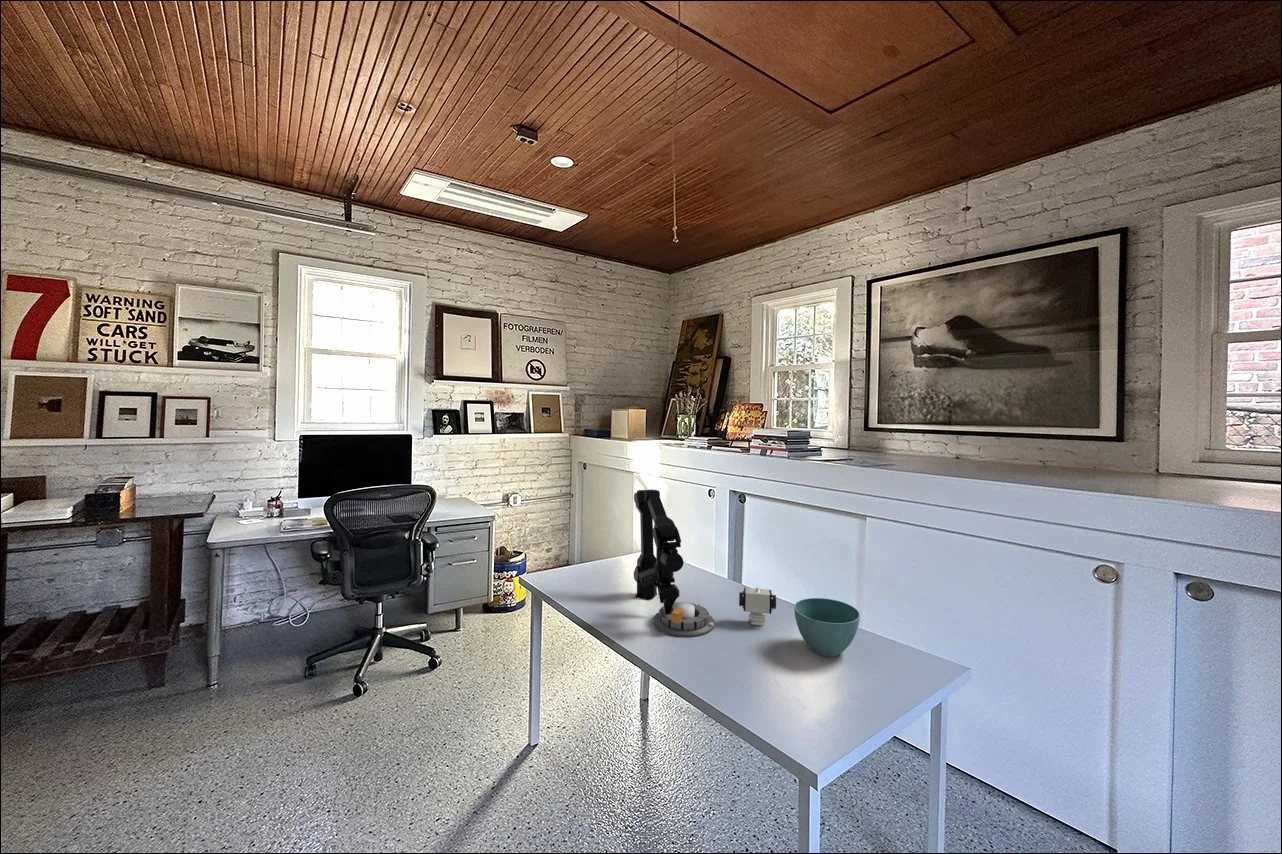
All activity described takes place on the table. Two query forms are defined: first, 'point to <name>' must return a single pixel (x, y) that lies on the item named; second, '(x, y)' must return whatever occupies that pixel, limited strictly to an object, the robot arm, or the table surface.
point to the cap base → (680, 632)
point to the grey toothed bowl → (678, 622)
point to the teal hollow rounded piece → (826, 624)
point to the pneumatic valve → (757, 604)
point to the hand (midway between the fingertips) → (664, 608)
